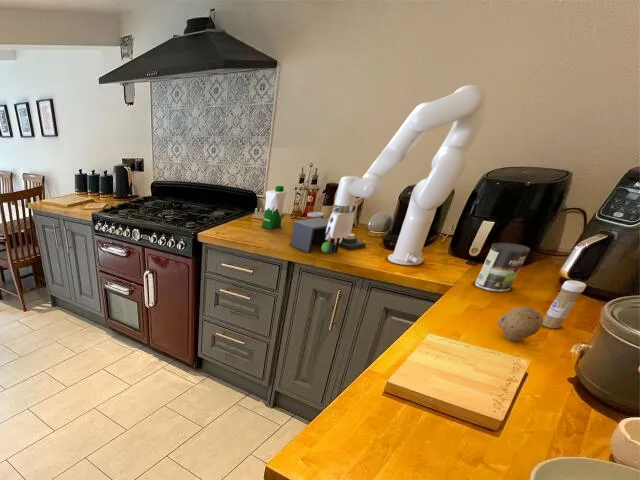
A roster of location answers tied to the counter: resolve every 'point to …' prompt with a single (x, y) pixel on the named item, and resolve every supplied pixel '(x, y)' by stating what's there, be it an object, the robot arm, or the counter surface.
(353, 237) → the button
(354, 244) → the button housing
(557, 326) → the sprinkles bottle
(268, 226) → the milk carton
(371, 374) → the counter surface
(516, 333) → the potato
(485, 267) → the coffee can
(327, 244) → the ball
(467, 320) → the counter surface
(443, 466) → the counter surface
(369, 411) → the counter surface
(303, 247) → the cubby
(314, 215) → the canned food
